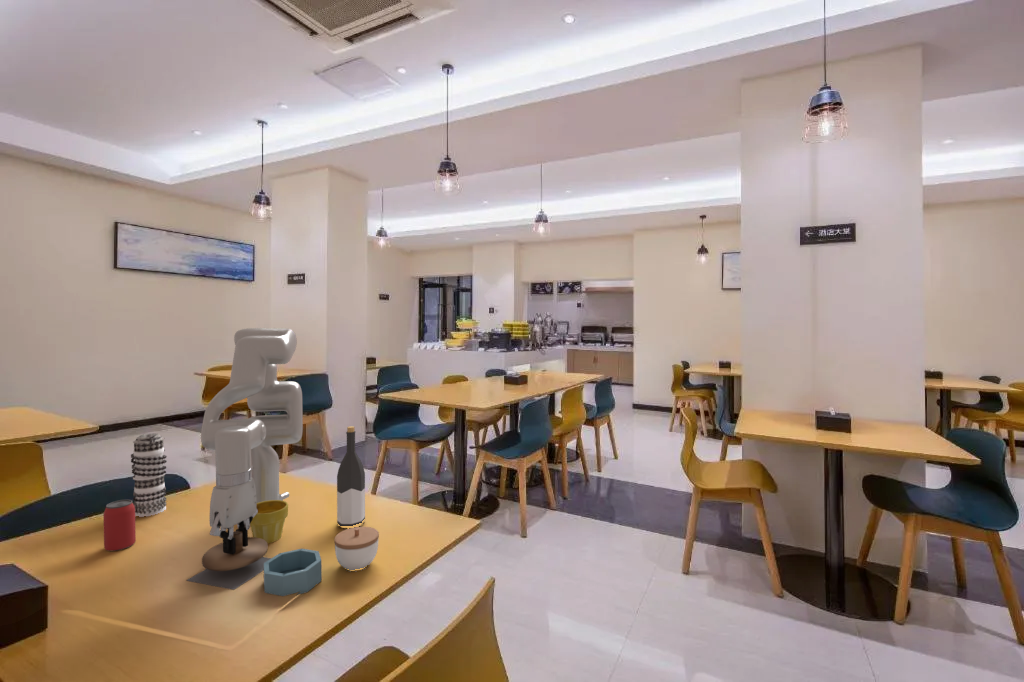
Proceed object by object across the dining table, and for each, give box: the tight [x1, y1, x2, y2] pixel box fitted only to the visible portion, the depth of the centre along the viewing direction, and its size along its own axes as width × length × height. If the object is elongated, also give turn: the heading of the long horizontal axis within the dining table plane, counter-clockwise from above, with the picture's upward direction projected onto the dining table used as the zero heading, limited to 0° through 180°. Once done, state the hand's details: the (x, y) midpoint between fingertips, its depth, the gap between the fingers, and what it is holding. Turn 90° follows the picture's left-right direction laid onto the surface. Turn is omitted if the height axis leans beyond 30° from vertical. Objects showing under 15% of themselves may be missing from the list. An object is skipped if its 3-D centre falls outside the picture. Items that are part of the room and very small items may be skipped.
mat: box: [186, 556, 272, 591], centre depth 114 cm, size 14×14×1 cm
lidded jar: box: [333, 526, 380, 570], centre depth 117 cm, size 11×11×9 cm
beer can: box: [102, 499, 137, 552], centre depth 126 cm, size 7×7×12 cm
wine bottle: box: [336, 425, 366, 526], centre depth 141 cm, size 8×8×30 cm
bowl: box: [263, 548, 323, 597], centre depth 109 cm, size 12×12×5 cm
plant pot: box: [250, 500, 289, 545], centre depth 130 cm, size 10×10×10 cm
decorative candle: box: [130, 433, 168, 518], centre depth 150 cm, size 9×9×25 cm
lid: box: [201, 530, 269, 571], centre depth 115 cm, size 14×14×6 cm
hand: (235, 548), depth 115 cm, fingers closed on lid, 3 cm apart
